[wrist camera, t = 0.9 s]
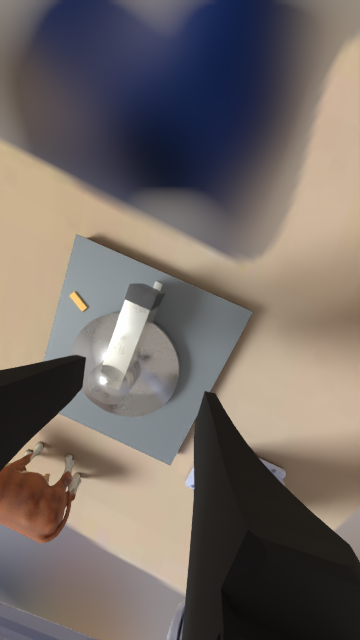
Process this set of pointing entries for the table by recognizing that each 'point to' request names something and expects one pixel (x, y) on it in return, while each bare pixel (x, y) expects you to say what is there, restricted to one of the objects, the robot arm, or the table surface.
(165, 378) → the dial
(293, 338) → the table surface
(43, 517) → the bull figurine
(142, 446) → the dial plate
